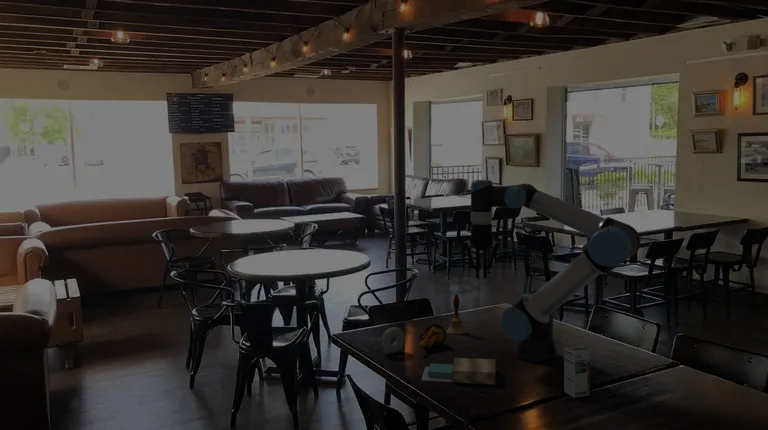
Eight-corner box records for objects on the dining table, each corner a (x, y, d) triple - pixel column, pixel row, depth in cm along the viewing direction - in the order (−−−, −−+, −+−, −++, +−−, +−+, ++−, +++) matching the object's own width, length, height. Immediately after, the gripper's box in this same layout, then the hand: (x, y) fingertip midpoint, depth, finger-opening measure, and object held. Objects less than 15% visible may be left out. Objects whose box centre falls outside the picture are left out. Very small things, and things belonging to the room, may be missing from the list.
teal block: (453, 370, 219) (453, 364, 218) (451, 378, 211) (451, 372, 211) (430, 369, 220) (430, 363, 220) (427, 377, 212) (427, 371, 212)
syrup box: (573, 398, 194) (574, 352, 192) (563, 391, 199) (563, 346, 198) (590, 396, 195) (591, 350, 194) (579, 389, 201) (579, 344, 199)
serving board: (495, 370, 219) (495, 359, 218) (495, 384, 206) (495, 372, 205) (454, 368, 221) (454, 357, 221) (452, 382, 208) (452, 370, 208)
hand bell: (443, 330, 269) (443, 293, 267) (461, 328, 271) (461, 291, 270) (451, 335, 261) (451, 297, 259) (469, 333, 263) (469, 296, 262)
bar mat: (454, 368, 221) (454, 367, 221) (451, 382, 208) (451, 381, 208) (425, 367, 223) (425, 366, 223) (421, 380, 210) (421, 379, 210)
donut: (385, 356, 235) (384, 330, 234) (379, 354, 238) (379, 328, 237) (406, 351, 241) (406, 326, 240) (401, 349, 244) (400, 324, 243)
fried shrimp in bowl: (452, 331, 251) (444, 329, 234) (439, 356, 250) (431, 356, 233) (431, 320, 254) (422, 317, 237) (419, 345, 253) (409, 344, 236)
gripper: (499, 221, 229) (499, 285, 232) (463, 221, 231) (463, 285, 234) (499, 224, 222) (499, 290, 224) (462, 224, 224) (462, 289, 227)
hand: (481, 287), depth 229 cm, fingers closed
